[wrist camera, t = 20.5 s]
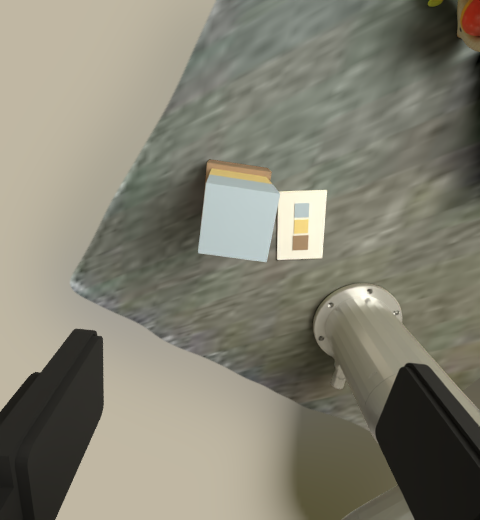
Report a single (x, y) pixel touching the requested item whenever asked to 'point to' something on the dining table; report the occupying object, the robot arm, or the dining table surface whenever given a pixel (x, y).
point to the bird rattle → (467, 21)
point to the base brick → (235, 170)
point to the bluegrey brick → (238, 218)
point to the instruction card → (301, 224)
